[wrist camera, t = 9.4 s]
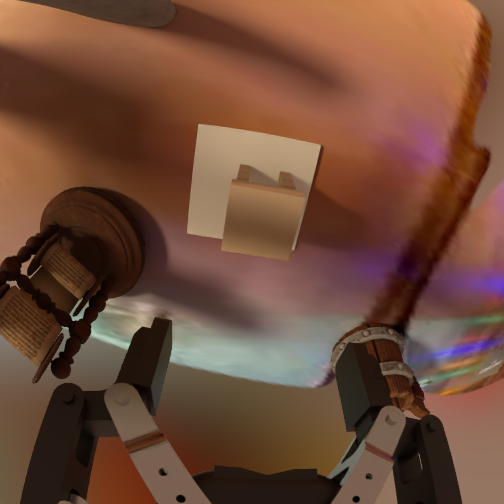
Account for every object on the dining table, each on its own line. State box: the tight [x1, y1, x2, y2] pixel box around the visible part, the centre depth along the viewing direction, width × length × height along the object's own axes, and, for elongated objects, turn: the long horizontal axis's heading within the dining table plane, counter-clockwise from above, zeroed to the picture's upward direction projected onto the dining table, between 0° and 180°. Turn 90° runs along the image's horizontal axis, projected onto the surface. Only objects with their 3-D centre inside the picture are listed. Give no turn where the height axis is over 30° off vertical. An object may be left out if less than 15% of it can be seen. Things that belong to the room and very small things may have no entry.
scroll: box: [0, 187, 145, 384], centre depth 25 cm, size 15×15×20 cm
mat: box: [187, 124, 321, 250], centre depth 30 cm, size 12×12×1 cm
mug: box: [329, 323, 430, 419], centre depth 37 cm, size 12×14×15 cm
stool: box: [221, 164, 305, 261], centre depth 27 cm, size 6×6×8 cm
